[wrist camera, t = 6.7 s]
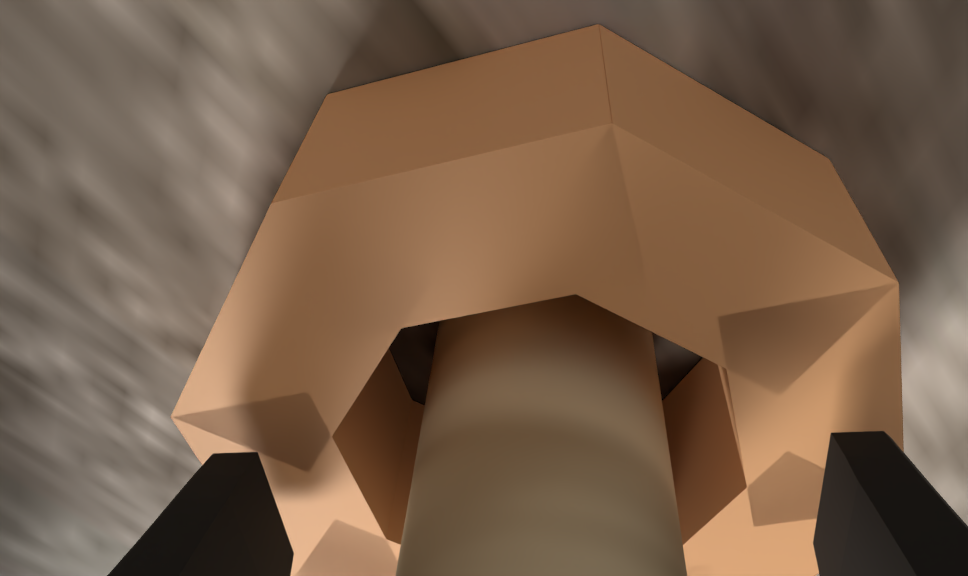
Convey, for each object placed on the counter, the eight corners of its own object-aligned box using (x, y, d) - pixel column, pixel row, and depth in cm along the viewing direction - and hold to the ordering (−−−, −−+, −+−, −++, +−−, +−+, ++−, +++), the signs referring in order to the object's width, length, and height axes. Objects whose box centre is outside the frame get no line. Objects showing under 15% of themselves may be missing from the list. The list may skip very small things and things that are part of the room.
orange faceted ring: (619, 572, 18) (630, 717, 15) (185, 392, 16) (117, 527, 13) (972, 243, 13) (1071, 378, 10) (412, -86, 11) (372, -11, 8)
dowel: (577, 432, 16) (593, 981, 9) (405, 354, 15) (289, 897, 8) (693, 300, 14) (816, 869, 7) (504, 203, 13) (454, 746, 7)
